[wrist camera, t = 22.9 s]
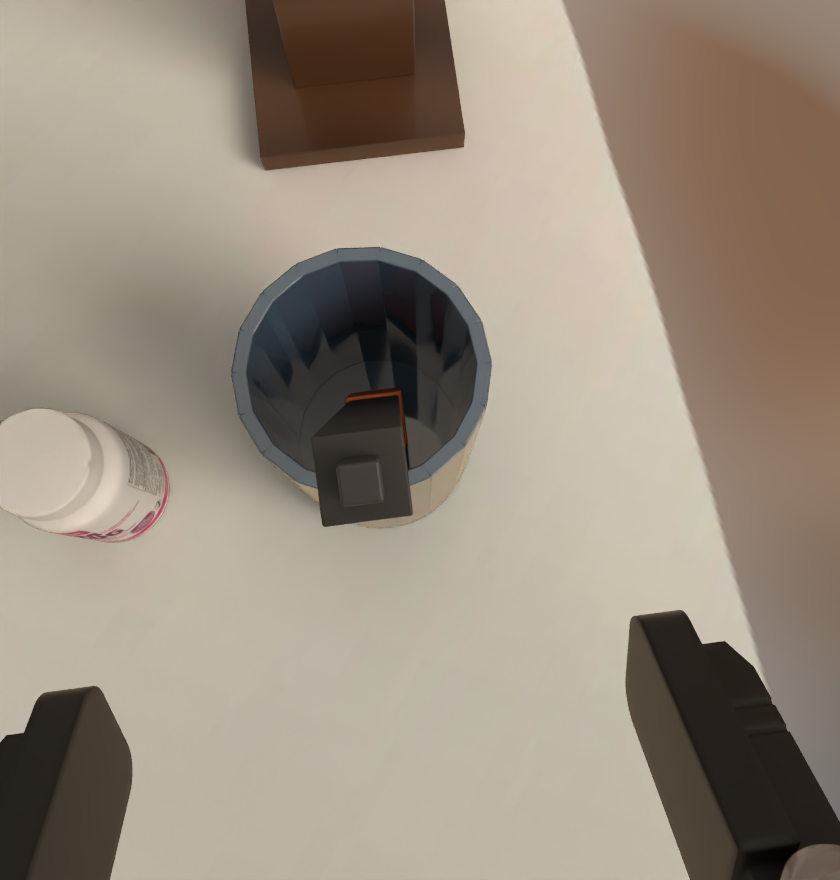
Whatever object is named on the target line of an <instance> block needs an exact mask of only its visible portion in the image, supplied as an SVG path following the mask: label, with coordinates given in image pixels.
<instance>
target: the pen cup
mask: <svg viewBox="0 0 840 880" xmlns="http://www.w3.org/2000/svg"><path fill="white" fill-rule="evenodd" d="M491 362H492V361H491V356H490V352H489V348H488V344H487V340H486V336H485V332H484V328H483V324H482V322H481V319H480V317H479V316H478V314H477V313H476V312H475V310H474V309H473V307H472V306H471V304H470V303H469V301H468V300H467V298H466V297H465V295H464V294H463V292H462V291H461V289H460V288H459V287H458V286H457V285H456V284H455V283H454V282H453V281H451V280H450V279H448V278H447V277H446V276H444V275H443V274H442V273H440V272H439V271H437V270H436V269H435V268H433V267H432V266H431V265H429V264H428V263H426V262H425V261H423V260H421V259H419V258H416V257H412V256H409V255H405V254H402V253H399V252H395V251H392V250H389V249H385V248H382V247H381V248H380V247H366V248H340V249H334V250H331V251H329V252H326V253H323V254H321V255H318V256H315V257H313V258H310V259H308V260H305V261H302V262H300V263H297V264H296V265H294V266H293V267H291V268H290V269H289V270H288V271H287V272H285V273H284V274H283V275H282V276H281V277H279V278H278V279H277V280H276V281H275V282H273V283H272V284H271V285H270V286H269V287H267V288H266V289H265V290H264V291H263V292H262V293H261V294H260V296H259V297H258V299H257V301H256V302H255V304H254V306H253V307H252V309H251V311H250V312H249V314H248V316H247V317H246V319H245V321H244V322H243V324H242V326H241V328H240V331H239V333H238V338H237V343H236V348H235V354H234V359H233V364H232V370H231V377H232V383H233V388H234V394H235V399H236V405H237V411H238V415H239V418H240V420H241V421H242V423H243V425H244V426H245V428H246V430H247V431H248V433H249V435H250V436H251V438H252V440H253V441H254V443H255V445H256V446H257V448H258V450H259V451H260V453H261V454H262V455H263V456H264V457H265V458H266V459H267V460H268V461H269V462H271V463H272V464H273V465H274V466H275V467H276V468H277V469H278V470H280V471H281V472H282V473H283V474H284V475H285V476H286V477H288V478H289V479H290V480H291V481H292V482H293V483H294V484H295V485H297V486H298V487H299V488H300V489H301V490H302V491H303V492H304V493H306V494H307V495H308V496H309V497H310V498H311V499H312V500H314V501H315V502H316V503H318V504H319V497H318V489H317V482H316V475H315V468H314V460H313V453H312V446H311V437H312V436H313V435H314V434H315V433H316V432H317V431H318V430H319V429H320V428H322V427H323V426H324V425H325V424H326V423H327V422H328V421H329V420H330V419H331V418H332V417H333V416H334V415H335V414H336V413H337V412H338V411H339V410H340V409H342V408H343V407H344V406H345V405H346V403H345V398H346V397H347V396H348V395H350V394H351V393H357V392H365V391H373V390H381V389H389V388H397V387H400V388H401V391H402V399H403V407H404V415H405V423H406V431H407V439H408V446H407V447H405V452H406V460H407V468H408V476H409V484H410V492H411V500H412V508H413V515H411V516H406V517H398V518H390V519H382V520H374V521H366V522H359V523H351V524H354V525H357V526H362V527H367V528H392V527H397V526H402V525H405V524H408V523H411V522H414V521H416V520H418V519H420V518H422V517H424V516H426V515H427V514H429V513H431V512H432V511H434V510H435V509H436V508H437V507H438V506H439V505H441V504H442V503H443V502H444V501H445V500H446V498H447V497H448V496H449V495H450V494H451V493H452V492H453V490H454V488H455V487H456V485H457V483H458V481H459V479H460V477H461V475H462V473H463V471H464V469H465V467H466V465H467V463H468V460H469V457H470V454H471V451H472V448H473V445H474V442H475V439H476V436H477V433H478V430H479V427H480V424H481V421H482V418H483V415H484V412H485V409H486V406H487V400H488V392H489V384H490V376H491V368H492V364H491ZM319 505H320V504H319Z"/></svg>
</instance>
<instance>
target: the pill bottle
mask: <svg viewBox="0 0 840 880" xmlns="http://www.w3.org/2000/svg"><path fill="white" fill-rule="evenodd" d="M168 496H169V480H168V475H167V471H166V469H165V466H164V464H163V463H162V461H161V460H160V458H159V457H158V456H157V455H156V454H155V453H154V452H153V451H152V450H151V449H150V448H148V447H147V446H146V445H144V444H142V443H140V442H138V441H136V440H135V439H133V438H131V437H129V436H127V435H126V434H124V433H122V432H120V431H118V430H117V429H115V428H113V427H111V426H109V425H108V424H106V423H104V422H102V421H100V420H98V419H96V418H94V417H91V416H88V415H85V414H81V413H75V412H60V411H57V410H53V409H48V408H33V409H28V410H24V411H21V412H18V413H16V414H13V415H12V416H10V417H8V418H7V419H5V420H4V421H2V422H1V423H0V508H2V509H3V510H5V511H7V512H9V513H11V514H14V515H17V516H18V517H19V518H20V519H21V520H23V521H24V522H25V523H27V524H28V525H30V526H32V527H34V528H37V529H39V530H42V531H45V532H50V533H56V534H62V535H68V536H74V537H80V538H86V539H92V540H97V541H102V542H123V541H127V540H131V539H134V538H136V537H138V536H140V535H142V534H144V533H145V532H146V531H148V530H149V529H150V528H151V527H152V526H153V525H154V524H155V523H156V522H157V521H158V520H159V518H160V517H161V515H162V513H163V512H164V510H165V507H166V505H167V501H168Z"/></svg>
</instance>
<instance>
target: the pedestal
mask: <svg viewBox="0 0 840 880" xmlns="http://www.w3.org/2000/svg"><path fill="white" fill-rule="evenodd" d="M245 3H246V13H247V23H248V34H249V44H250V54H251V65H252V75H253V85H254V96H255V106H256V116H257V126H258V137H259V147H260V157H261V160H262V163H263V165H264V168H265V170H271V169H280V168H289V167H297V166H306V165H314V164H323V163H331V162H340V161H348V160H357V159H365V158H374V157H382V156H391V155H399V154H408V153H416V152H425V151H433V150H442V149H450V148H459V147H464V138H465V131H464V124H463V118H462V111H461V104H460V98H459V91H458V85H457V78H456V72H455V65H454V58H453V52H452V45H451V39H450V32H449V26H448V19H447V12H446V6H445V0H245Z"/></svg>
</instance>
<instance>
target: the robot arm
mask: <svg viewBox="0 0 840 880" xmlns="http://www.w3.org/2000/svg"><path fill="white" fill-rule="evenodd" d="M626 695H627V701H628V707H629V711H630V715H631V718H632V722H633V725H634V727H635V730H636V733H637V736H638V738H639V741H640V744H641V747H642V749H643V752H644V755H645V758H646V760H647V763H648V766H649V768H650V771H651V774H652V777H653V779H654V782H655V785H656V788H657V790H658V793H659V796H660V798H661V801H662V804H663V807H664V809H665V812H666V815H667V818H668V820H669V823H670V826H671V829H672V831H673V834H674V837H675V839H676V842H677V845H678V848H679V850H680V853H681V856H682V859H683V861H684V864H685V867H686V869H687V872H688V875H689V878H690V880H840V822H839V820H838V818H837V816H836V814H835V813H834V811H833V809H832V807H831V805H830V804H829V802H828V800H827V798H826V796H825V794H824V793H823V791H822V789H821V787H820V786H819V784H818V782H817V780H816V778H815V776H814V775H813V773H812V771H811V769H810V767H809V766H808V764H807V762H806V760H805V758H804V757H803V755H802V753H801V751H800V749H799V748H798V746H797V744H796V742H795V740H794V739H793V737H792V735H791V733H790V732H788V731H787V729H786V724H785V722H784V720H783V719H782V717H781V715H780V713H779V712H778V710H777V708H776V706H775V705H773V704H772V701H771V697H770V695H769V693H768V692H767V690H766V688H765V686H764V684H763V682H762V681H761V679H760V677H759V675H758V673H757V672H756V670H755V668H754V667H753V666H752V665H751V664H750V663H749V662H748V661H747V660H745V659H744V658H743V657H742V656H741V655H740V654H739V653H738V652H736V651H735V650H734V649H733V648H732V647H731V646H730V645H729V644H727V643H726V642H725V641H723V642H715V643H708V644H702V643H701V641H700V639H699V637H698V635H697V633H696V631H695V629H694V627H693V625H692V623H691V621H690V620H689V618H688V616H687V615H686V613H685V612H684V611H682V610H677V611H669V612H662V613H654V614H647V615H639V616H633V617H632V618H631V621H630V629H629V642H628V655H627V668H626ZM131 784H132V759H131V753H130V749H129V746H128V744H127V742H126V740H125V738H124V736H123V733H122V731H121V729H120V727H119V725H118V723H117V721H116V719H115V717H114V715H113V713H112V711H111V709H110V707H109V705H108V703H107V701H106V698H105V696H104V694H103V693H102V691H101V690H100V688H98V687H97V686H91V687H83V688H76V689H68V690H61V691H53V692H46V693H43V694H42V695H41V696H40V697H39V698H38V700H37V701H36V703H35V705H34V708H33V710H32V713H31V716H30V718H29V721H28V724H27V726H26V729H25V732H24V733H20V734H13V735H6V736H5V738H4V739H3V740H2V741H1V743H0V880H110V876H111V872H112V868H113V863H114V859H115V855H116V850H117V846H118V842H119V838H120V833H121V829H122V825H123V821H124V816H125V812H126V808H127V803H128V799H129V795H130V790H131Z"/></svg>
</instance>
